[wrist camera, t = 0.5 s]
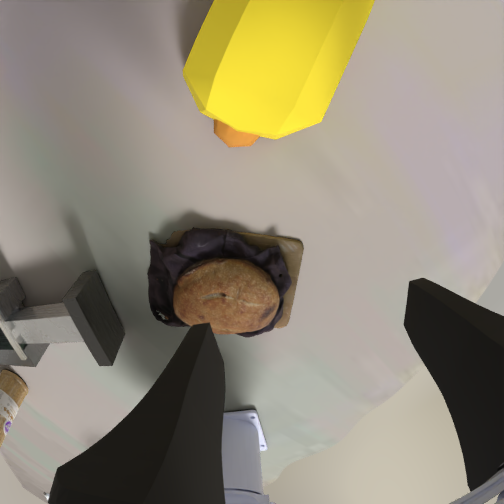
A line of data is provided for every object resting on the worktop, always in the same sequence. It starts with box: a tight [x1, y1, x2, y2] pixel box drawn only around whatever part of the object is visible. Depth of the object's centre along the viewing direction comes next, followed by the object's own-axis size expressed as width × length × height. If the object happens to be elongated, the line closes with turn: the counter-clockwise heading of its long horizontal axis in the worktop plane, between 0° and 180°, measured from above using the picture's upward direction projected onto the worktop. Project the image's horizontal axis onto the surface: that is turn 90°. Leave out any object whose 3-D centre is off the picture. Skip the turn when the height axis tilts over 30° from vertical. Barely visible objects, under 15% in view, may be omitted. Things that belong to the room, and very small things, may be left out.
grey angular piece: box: [0, 270, 125, 366], centre depth 19 cm, size 6×10×4 cm, turn 99°
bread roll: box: [148, 227, 304, 337], centre depth 20 cm, size 11×8×4 cm
